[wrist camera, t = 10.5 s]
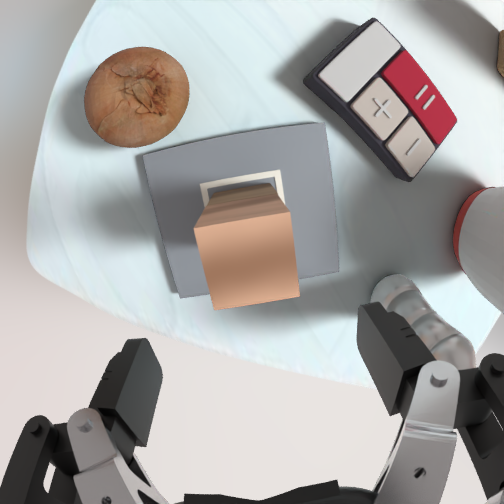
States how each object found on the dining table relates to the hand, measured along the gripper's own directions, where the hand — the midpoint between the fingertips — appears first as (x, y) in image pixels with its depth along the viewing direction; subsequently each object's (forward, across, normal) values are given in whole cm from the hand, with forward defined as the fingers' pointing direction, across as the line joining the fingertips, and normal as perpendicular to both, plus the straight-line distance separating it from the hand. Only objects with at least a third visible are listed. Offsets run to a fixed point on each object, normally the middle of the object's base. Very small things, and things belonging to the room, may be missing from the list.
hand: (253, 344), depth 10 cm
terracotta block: (+13, 0, 0) cm, 13 cm away
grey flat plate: (+20, 0, 0) cm, 21 cm away
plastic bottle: (+21, -16, +13) cm, 29 cm away
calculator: (+21, -17, -10) cm, 29 cm away
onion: (+21, +7, -13) cm, 26 cm away
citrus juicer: (+21, -33, +7) cm, 40 cm away
